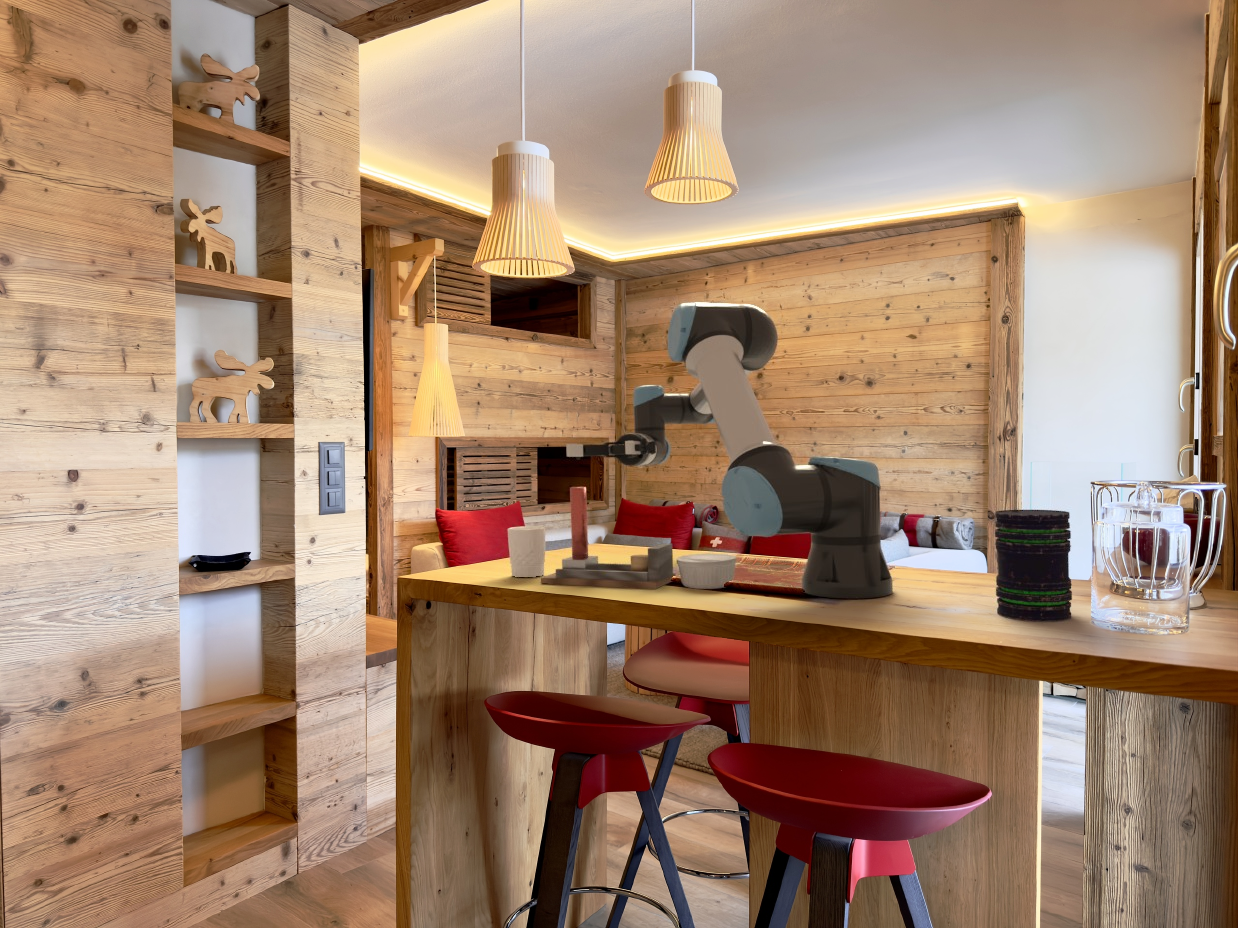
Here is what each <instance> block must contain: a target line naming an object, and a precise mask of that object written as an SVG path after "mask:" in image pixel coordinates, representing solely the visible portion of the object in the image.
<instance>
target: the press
mask: <svg viewBox="0 0 1238 928" xmlns="http://www.w3.org/2000/svg"><path fill="white" fill-rule="evenodd" d="M673 554H674V553H673V543H661V544H657V545H654V546H652V547H649V548H647V555H648V572H635V571H631V563H630V564H629V563H603V562H602V563H600V562H598V570H580V569H562V568H556V569H555V572H554V573H550V574H548V575H547V574H546V575H545V576H544V575H543V576H540V584H541V583H548V584H547V585H557V584H561V585H560V586H579V585H580V586H581V587H583V586H584V587H601V588H603V587H605V588H606V587H607V588H625V589H627V588H628V589H645V590H647V589H649V590H651V589H652V590H657V589H659V588H661V587H663V586H665V585H667V584H670V583H671V582H673V581H671V578H672V577H673V576H676V577H677V573H674V564H673V563H674V560H673V559H674V558H673V557H674V555H673Z"/></svg>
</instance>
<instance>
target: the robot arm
mask: <svg viewBox="0 0 1238 928" xmlns="http://www.w3.org/2000/svg"><path fill="white" fill-rule="evenodd" d="M667 330H668V331H667V332H668V333H667V353H668V357H669V359H670V360H671V361H672V362H676V363H684V365H685V366H684V367H685V368H686V371H687V372H688V374H689V375H690V376H691V377H693V378H694V379H697V380H699V383H698V384H696V386H695V387H694V389H692V391H691V392H690V393H665V389H664V387H663V386H662V385H658V384H657V385H656V384H648V385H640V386H636V387H635V388H634V389H633V399H632V401H633V402H632V408H633V425H634V432H632V433H631V432H628V433H624V434H622V435H621V436H619V438H617V440H615V441H611V442H609V441H606V442H603V444H582V443H566V444H565V445H566V446H565V447H566V457H569V458H571V457H572V458H574V457H575V458H576V460H581V457H582V458H583V457H604V458H606V459H607V458H614V459H617V461H618V462H620V463H621V464H622V465H624V466H626V467H627V466H628V467H635V466H637V467H638V469H642V468H643V466H658V465H661V464H663V463H665V462H667V461H668V459H669V457H670V456H671V452H672V451H671V450H672V448H671V444H670V442H669V439H667V438H666V428H665V427H666V425H684V424H685V425H695V424H696V425H707V424H715V425H716V427H717V432H718V433H719V436H720V438H721V441H722V443H723V446H724V448H725V451H726V454H727V456H728V458H729V462H730V463H729V465H728V466H727V469H726V472H725V475H724V477H723V479H722V483H721V496H722V498H723V501H722V506H723V509H724V512H725V515H726V518H727V519H728V521H729V523H730V524H731V526H732V527H733V528H734V529H735V530H736V531H737V532H739V533H740V534H742V535H745V536H748V537H764V538H768V537H773V536H781V535H798V534H810V542H811V543H810V550H809V553H808V556H807V560H806V563H805V567H804V571H803V573H802V577H801V589H802V588H803V589H804V590H805V592H804V593H805V594H807V595H811V596H817V597H823V598H831V599H833V598H834V599H870V598H871V599H872V598H874V599H875V598H880V597H885V596H889V595H891V594H893V592H894V591H893V590H894V589H893V578H892V574H891V572H890V569H889V567H888V563H887V561H886V558H885V555H884V552H883V550H882V542H881V541H882V539H881V537H882V535H881V532H882V531H881V492H880V491H881V490H882V489H881V488H882V486H881V484H880V474H879V473H880V472H879V468H878V466H877V465H876V464H875V463H874V462H872V461H870V460H863V459H856V458H847V457H846V458H845V457H835V456H833V457H832V456H816V455H815V456H811V457H810V458H809V459H808V463H807V464H796V463H795V461H794V459H793V457H792V455H791V452H790V450H789V449H788V448H787V447H785V446H783V445H781V444H777V443H776V440H775V438H774V436H773V433H772V431H771V429H770V427H769V424H768V421H767V420H766V418H765V415H764V412H763V410H762V408H761V406H760V404H759V401H758V399H757V397H756V394H755V392H754V390H753V388H752V385H751V383H750V380H749V379H748V377H749V376H750V375H751V374H752V373H753V372H757V371H759V370H761V369H763V368H764V367H765V366H766V365H767V364H768V363H769V362H770V361H771V359H772V358H773V356H774V355H775V353H776V350H777V347H778V339H779V338H778V337H779V336H778V331H777V327H776V324H775V322H774V321H773V319H772V318H771V317H770V316H769V314H768V313H767V312H766V311H764V309H761V308H759V307H758V306H756V305H752V304H748V303H720V302H719V303H718V302H717V303H715V302H714V303H713V302H712V303H711V302H698V301H694V302H683V303H680V304H678V305H677V306H676V307H675V308H674V309H673V312H672V314H671V317H670V321H669V324H668V329H667Z"/></svg>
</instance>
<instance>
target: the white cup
mask: <svg viewBox="0 0 1238 928" xmlns="http://www.w3.org/2000/svg"><path fill="white" fill-rule="evenodd" d="M546 531H547V530H546V526H541V525H540V526H539V525H532V526H531V525H526V526H525V525H524V526H514V527H509V528H507V538H508V540H507V542H508V550H509V551H508V552H509V563H510V568H511V577H512V576H516V577H533V578H537V577H536V576H540V577H543V576H544V575H545V562H546V559H545V558H546ZM542 575H543V576H542Z"/></svg>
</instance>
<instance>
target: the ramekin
mask: <svg viewBox="0 0 1238 928" xmlns="http://www.w3.org/2000/svg"><path fill="white" fill-rule="evenodd" d="M737 559H738V558H737V556H736V555H733V554H726V553H693V554H688V555H681V556H679V557H677V558H676V564H677V567H678V573H679V576H680V581H681V584H682V585H683V586H684V587H686V588H691V589H696V590H698V589H700V590H704V589H705V590H706V589H707V590H712V589H722V588H723V589H724V588H725V587H724V584H725V583H726V582H729V581H732V580H733V579H735V570H736V564H737V563H738V561H737ZM733 581H734V580H733Z"/></svg>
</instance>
